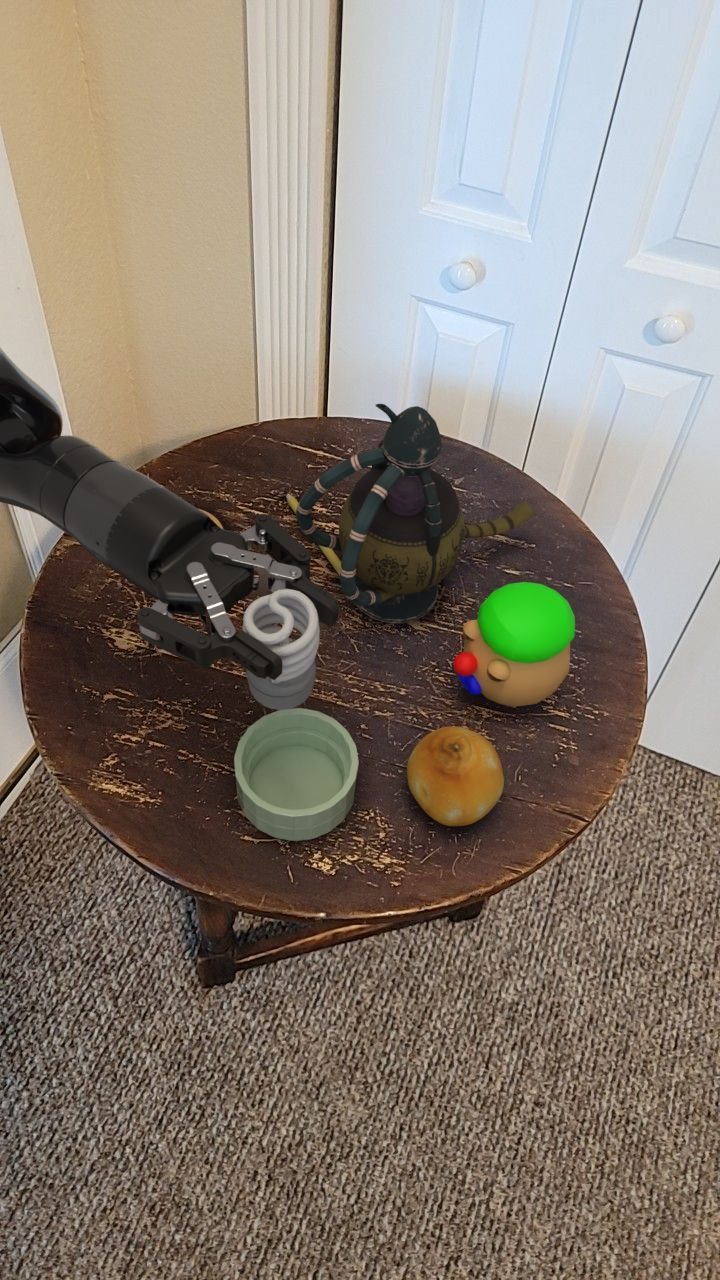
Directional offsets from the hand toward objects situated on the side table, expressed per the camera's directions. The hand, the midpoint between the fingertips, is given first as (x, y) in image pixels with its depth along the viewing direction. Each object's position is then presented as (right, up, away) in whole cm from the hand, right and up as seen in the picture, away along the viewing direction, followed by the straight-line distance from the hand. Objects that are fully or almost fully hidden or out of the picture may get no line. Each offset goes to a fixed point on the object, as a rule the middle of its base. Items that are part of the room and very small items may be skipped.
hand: (307, 642), depth 66 cm
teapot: (+10, +6, +31) cm, 33 cm away
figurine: (+17, -4, +23) cm, 29 cm away
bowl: (-2, -13, +15) cm, 20 cm away
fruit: (+12, -13, +15) cm, 23 cm away
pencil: (-1, +11, +33) cm, 35 cm away
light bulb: (-3, -5, +9) cm, 11 cm away
